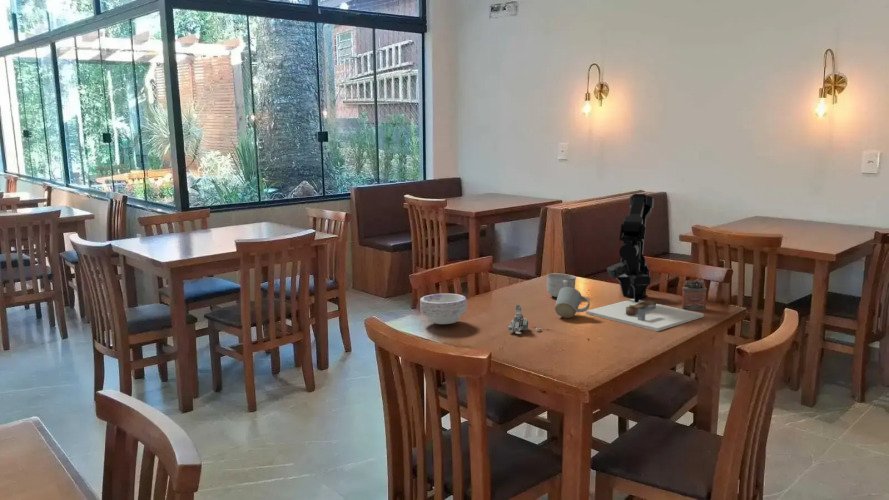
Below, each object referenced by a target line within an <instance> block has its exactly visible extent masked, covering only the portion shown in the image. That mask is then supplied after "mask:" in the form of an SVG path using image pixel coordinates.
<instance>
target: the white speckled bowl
mask: <svg viewBox="0 0 889 500" xmlns="http://www.w3.org/2000/svg"><path fill="white" fill-rule="evenodd" d="M419 300H420V301H419V302H420V303H419V304H420V309H419V310H420V314H421V315H423V316H425V317H426V319H427V321H428V322H429V323H431V324H435V325H449V324H454V323H457V322H458V321H460V318H462V317H461V316H462V315H465V314H466V313H467V297H466V296H465V295H463V294H458V293H433V294H429V295H424V296H422V297H420V299H419Z"/></svg>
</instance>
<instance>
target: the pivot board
mask: <svg viewBox="0 0 889 500" xmlns="http://www.w3.org/2000/svg"><path fill="white" fill-rule="evenodd" d="M645 301H646V300H641V299H639V301H638V302H635V301H634V298H630V299H627V300H624V301H619V302H615V303H612V304H608V305H604V306H599V307H596V308H591V309H588V310H586V311H585V315H589V316H593V317H598V318H603V319H604V320H605V319H606V320H610V321H614V322H617V323H622V324H626V325H630V326H634V327H639V328H642V329H645V330H649V331H655V332H659V331H663V330H667V329H669V328H673V327H676V326H679V325H683V324H685V323H688V322H692V321H694V320H697V319H701V318H705V317H704V316H705V313H701V312H697V311H694V310H684V309H682V308H677V307H672V306H669V305H664V304H660V303H659V304H658V303H656V308H655V309H652V310H648V311H645V320H643V321H641V320H638V313H636V314H635V315H628V314H626V307H629V305H636V304H639V303H642V302H645Z"/></svg>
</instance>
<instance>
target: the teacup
mask: <svg viewBox="0 0 889 500" xmlns="http://www.w3.org/2000/svg"><path fill="white" fill-rule="evenodd" d="M576 279H577V277H576V276H575V275H572V274H566V273H549V274H547V275H546V290H547V292H548V293H549V294H550V296H552V297H555V298H557V297H558V294H559V291H560V289H562V288H564V287H571V288H574V289H576Z"/></svg>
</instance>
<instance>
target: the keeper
mask: <svg viewBox="0 0 889 500" xmlns="http://www.w3.org/2000/svg"><path fill="white" fill-rule="evenodd" d="M655 308H656V305H649V306H645V307H642V308H638V320H641V321H643V320H645V311H648V310H652V309H655Z"/></svg>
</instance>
